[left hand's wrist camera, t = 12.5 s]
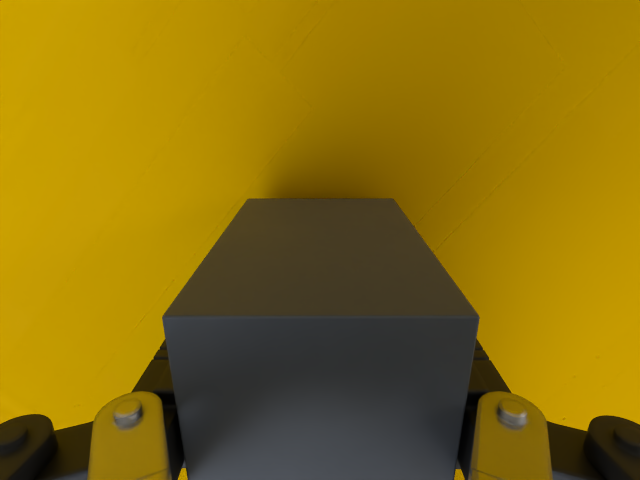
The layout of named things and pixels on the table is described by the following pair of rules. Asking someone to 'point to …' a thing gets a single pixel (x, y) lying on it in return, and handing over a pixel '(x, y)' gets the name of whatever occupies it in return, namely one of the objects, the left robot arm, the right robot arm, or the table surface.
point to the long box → (320, 348)
